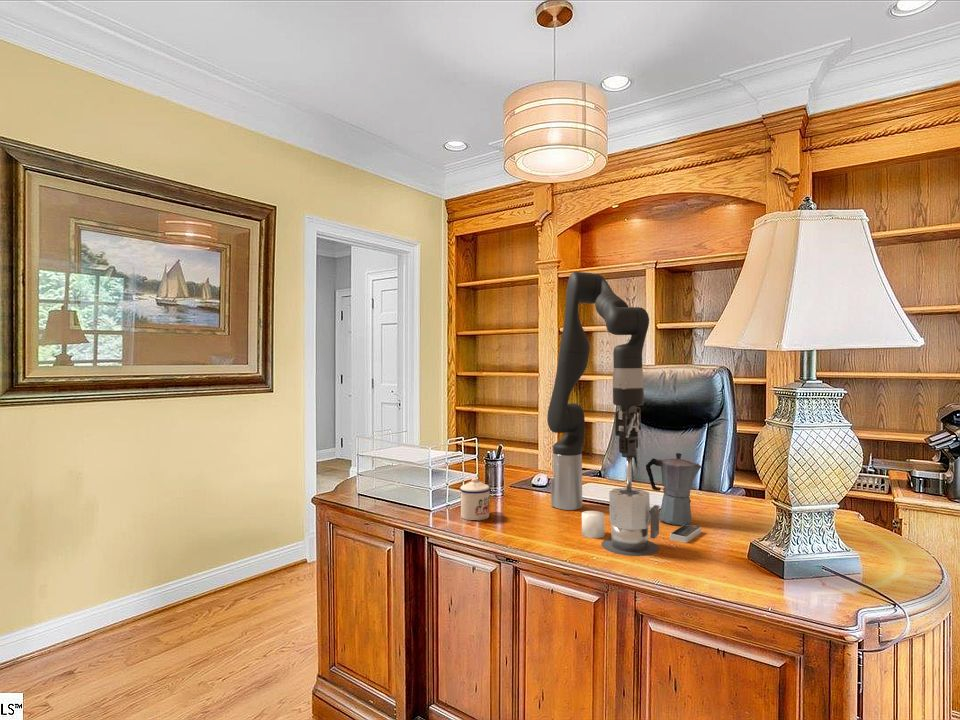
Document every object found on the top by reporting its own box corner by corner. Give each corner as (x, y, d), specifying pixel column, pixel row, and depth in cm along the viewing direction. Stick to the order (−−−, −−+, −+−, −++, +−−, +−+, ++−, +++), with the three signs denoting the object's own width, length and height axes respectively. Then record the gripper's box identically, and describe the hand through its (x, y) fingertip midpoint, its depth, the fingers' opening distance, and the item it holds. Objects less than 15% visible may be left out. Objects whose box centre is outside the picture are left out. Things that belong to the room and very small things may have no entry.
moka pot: (705, 528, 151) (704, 456, 151) (648, 525, 154) (647, 455, 154) (698, 518, 160) (698, 450, 160) (644, 515, 163) (644, 449, 163)
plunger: (617, 493, 135) (616, 437, 135) (622, 489, 139) (622, 435, 139) (635, 495, 133) (635, 438, 133) (640, 491, 136) (640, 436, 136)
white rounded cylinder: (578, 537, 144) (578, 515, 144) (586, 531, 149) (586, 509, 149) (600, 541, 141) (600, 518, 141) (607, 534, 146) (607, 512, 146)
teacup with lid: (478, 523, 157) (478, 483, 157) (454, 518, 163) (453, 479, 163) (501, 513, 167) (500, 475, 167) (477, 508, 172) (476, 472, 172)
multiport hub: (669, 542, 140) (669, 533, 140) (685, 532, 149) (685, 523, 149) (686, 546, 137) (686, 537, 137) (701, 535, 146) (701, 526, 146)
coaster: (593, 551, 133) (593, 549, 133) (611, 535, 145) (611, 533, 145) (651, 561, 126) (651, 559, 126) (664, 543, 138) (664, 542, 138)
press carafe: (606, 548, 134) (606, 493, 134) (617, 537, 142) (617, 486, 142) (652, 556, 128) (651, 499, 128) (661, 545, 136) (660, 491, 136)
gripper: (621, 384, 144) (622, 445, 144) (604, 387, 132) (605, 453, 132) (650, 385, 140) (651, 447, 140) (635, 387, 128) (636, 456, 128)
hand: (628, 450), depth 136 cm, fingers open, 8 cm apart
